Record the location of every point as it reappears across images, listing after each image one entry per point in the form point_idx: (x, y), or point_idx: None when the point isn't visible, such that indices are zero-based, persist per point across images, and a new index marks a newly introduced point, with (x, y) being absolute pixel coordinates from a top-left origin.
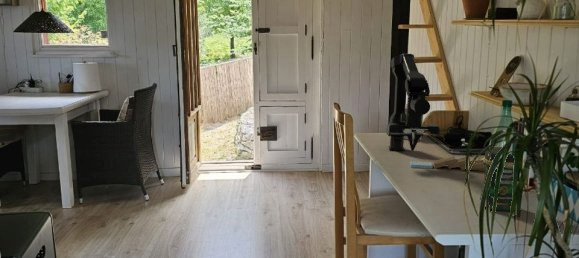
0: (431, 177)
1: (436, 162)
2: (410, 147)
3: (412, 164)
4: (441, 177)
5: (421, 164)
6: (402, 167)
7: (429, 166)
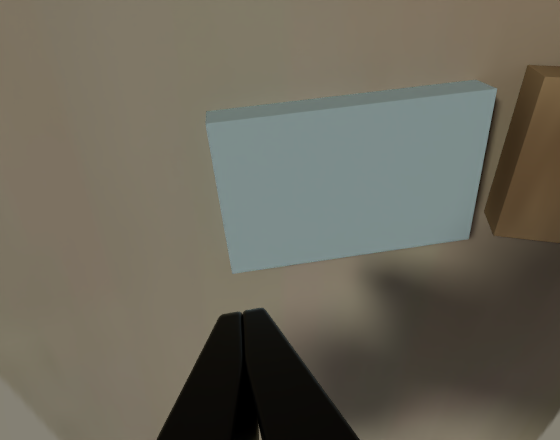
0: (386, 427)
1: (545, 189)
2: (203, 360)
3: (249, 263)
4: (454, 408)
5: (353, 231)
6: (143, 276)
7: (431, 237)
